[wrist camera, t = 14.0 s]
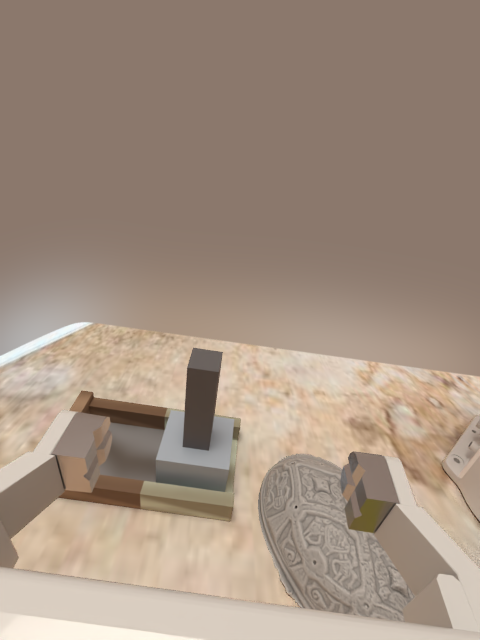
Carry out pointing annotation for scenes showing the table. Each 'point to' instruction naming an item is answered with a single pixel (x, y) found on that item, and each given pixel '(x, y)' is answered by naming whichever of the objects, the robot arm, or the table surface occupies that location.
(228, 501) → the bay
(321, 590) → the carved turtle shell
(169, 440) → the grey pillar on base
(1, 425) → the table surface
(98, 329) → the table surface
